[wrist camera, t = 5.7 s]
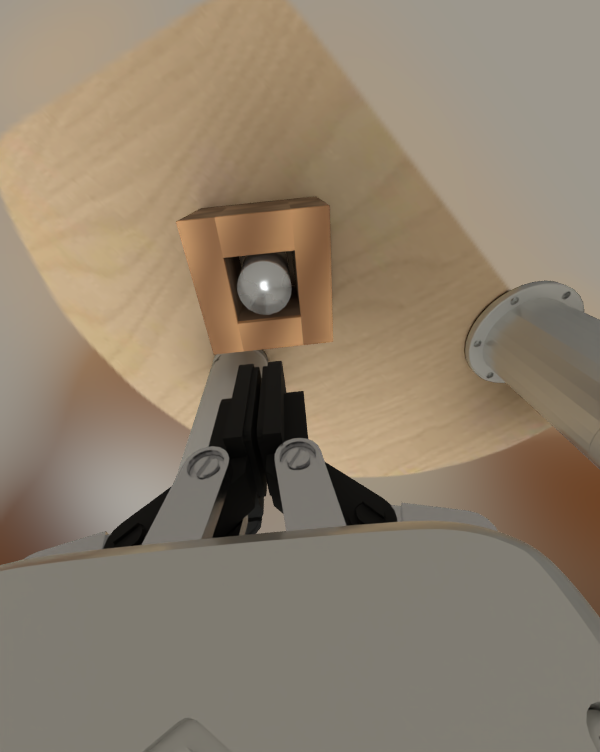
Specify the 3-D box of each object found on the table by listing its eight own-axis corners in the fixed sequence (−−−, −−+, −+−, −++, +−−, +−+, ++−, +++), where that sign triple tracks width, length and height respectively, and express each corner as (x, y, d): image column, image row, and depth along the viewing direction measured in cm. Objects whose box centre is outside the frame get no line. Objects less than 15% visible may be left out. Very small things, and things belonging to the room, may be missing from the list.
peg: (285, 237, 28) (288, 258, 21) (289, 280, 30) (293, 311, 24) (242, 241, 28) (231, 264, 21) (249, 284, 30) (242, 317, 24)
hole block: (315, 196, 26) (329, 205, 20) (321, 306, 32) (333, 341, 25) (200, 208, 26) (175, 221, 20) (226, 316, 32) (213, 354, 25)
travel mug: (203, 346, 34) (134, 516, 17) (261, 334, 33) (248, 497, 17) (221, 390, 37) (179, 566, 21) (274, 380, 37) (273, 551, 20)
